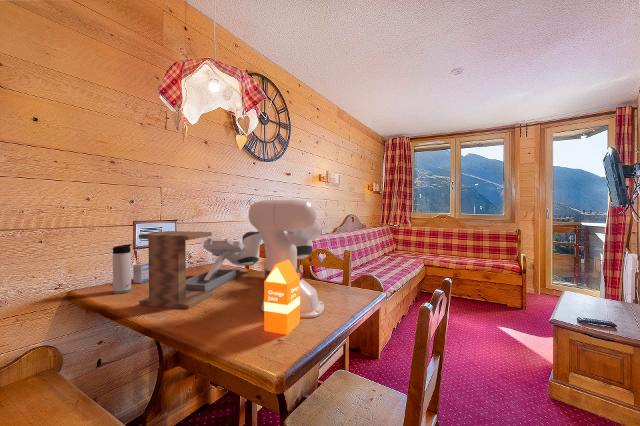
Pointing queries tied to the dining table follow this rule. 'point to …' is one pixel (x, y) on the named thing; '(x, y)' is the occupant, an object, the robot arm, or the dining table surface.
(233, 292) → the dining table surface
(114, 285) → the travel mug
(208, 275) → the bar
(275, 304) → the orange juice
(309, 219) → the robot arm
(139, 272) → the medicine box
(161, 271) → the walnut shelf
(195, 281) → the blue-gray tray
